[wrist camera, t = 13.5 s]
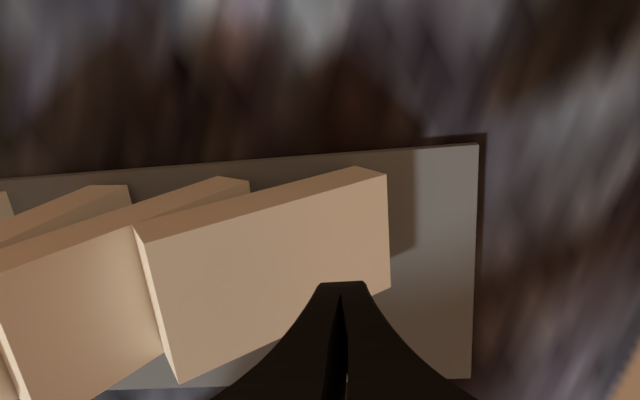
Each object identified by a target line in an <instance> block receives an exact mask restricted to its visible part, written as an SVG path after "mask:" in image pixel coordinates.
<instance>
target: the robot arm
mask: <svg viewBox="0 0 640 400" xmlns="http://www.w3.org/2000/svg"><path fill="white" fill-rule="evenodd" d="M347 376H348V393H347V400H478V399H476V398H474V397H473V396H471V395H470V394H468V393H467V392H465V391H463V390H462V389H460V388H459V387H457V386H456V385H454V384H453V383H451V382H450V381H449V380H447V379H446V378H445V377H443V376H442V375H441V374H439V373H438V372H437V371H436V370H434V369H433V368H432V367H431V366H429V365H428V364H427V363H426V362H425V361H424V360H423V359H422V358H420V357H419V356H418V355H417V354H416V353H415V352H414V351H413V350H412V349H411V348H410V347H409V346H408V345H407V344H406V342H405V341H404V340H403V339H402V338H401V337H400V336H399V334H398V333H397V332H396V331H395V330H394V328H393V327H392V326H391V325H390V323H389V322H388V321H387V319H386V318H385V316H384V315H383V314H382V312H381V311H380V309H379V308H378V306H377V305H376V303H375V301H374V300H373V298H372V296H371V294H370V292H369V290H368V288H367V284H366V283H365V282H364V281H342V282H323V283H320V284H319V285H318V286H317V287H316V289H315V291H314V293H313V295H312V296H311V298H310V300H309V301H308V303H307V305H306V306H305V308H304V309H303V311H302V312H301V313H300V315H299V316H298V318H297V319H296V321H295V322H294V323H293V325H292V326H291V327H290V328H289V330H288V331H287V332H286V333H285V335H284V336H283V337H282V338H281V339H280V341H279V342H278V343H277V344H276V345H275V346H274V347H273V348H272V350H271V351H270V352H269V353H268V354H267V355H266V356H265V357H264V358H263V359H262V360H261V361H260V362H259V363H257V364H256V365H255V366H254V367H253V368H251V369H250V370H249V371H248V372H247V373H245V374H244V375H243V376H242V377H241V378H239V379H238V380H237V381H236V382H234V383H233V384H232V385H230V386H229V387H227V388H226V389H225V390H223V391H222V392H220V393H219V394H217V395H216V396H214V397H213V398H211V399H210V400H345V391H346V379H347Z"/></svg>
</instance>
